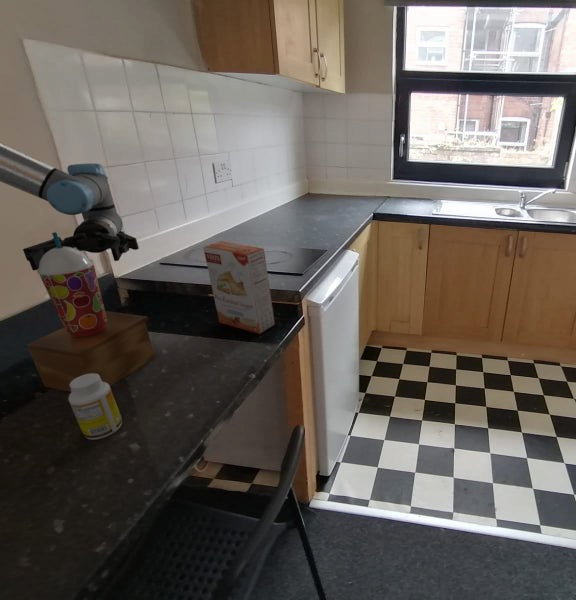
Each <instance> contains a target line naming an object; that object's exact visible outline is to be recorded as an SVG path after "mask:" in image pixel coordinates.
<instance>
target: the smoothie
mask: <svg viewBox="0 0 576 600" xmlns="http://www.w3.org/2000/svg"><path fill="white" fill-rule="evenodd" d="M51 234H52V237H53V238H54V240H55V243H56V246H57V247H56V248H53V249H51V250H49V251H48V252H46V253H45V254H44V255H43V256H42V258H41V260H40V263H39V268H38V269H37V270H36V273H37V274H38V275H39V277H40V280H41V282H42V283H43V286H44V287H45V290H46V293H47V294H48V296H49V298H50V300H51V302H52V304H53V307H54V309H55V311H56V313H57V315H58V317H59V319H60V321H61V323H62V326H63V328H65V330H66V331H67V332H70V334H71V335H72V336H74V337H85V336H90V335H94V334H96V333H99V332H100V331H102V330H103V329H105V327H106V324H105V323H106V322H107V317H106V313H105V311H106V309H105V305H104V302H103V297H102V293H101V288H100V284H99V281H98V277H97V273H96V269H95V266H94V264H95V262H94V261H93V260H92V259H90V258H89V257H88V255H87V254H86V253H85V252H84V251H80V250H78V249H76V248H71V247H61V244H60V241H59V238H58V237H59V235H58V233H57V232H52V233H51Z"/></svg>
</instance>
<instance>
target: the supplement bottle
mask: <svg viewBox="0 0 576 600" xmlns="http://www.w3.org/2000/svg"><path fill="white" fill-rule="evenodd" d="M70 388H71V392H70V394H68V399H67V400H68V403H69V405H70V407H71V409H72V412H73V414H74V416H75V420H76V421H77V424H78V426H79V428H80V430H81V433H82V436H83V437H84V438H85V439H88V440H92V441H94V440H95V441H96V440H103V439H105V438H107V437H109V436H111V435H113V434H115V433H116V432H117V431H119V429H120V428H121V427H122V425H123V418H122V415H121V412H120V409H119V407H118V404H117V402H116V399H115V397H114V394H113V391H112V388H111V387H110V386H109V384H108V383H106V382H102V380H101V378H100V376H99V375H98V374H94V373H92V374H86V375H82V376H79V377H77V378H75V379H74V380H73V381H71V383H70Z"/></svg>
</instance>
